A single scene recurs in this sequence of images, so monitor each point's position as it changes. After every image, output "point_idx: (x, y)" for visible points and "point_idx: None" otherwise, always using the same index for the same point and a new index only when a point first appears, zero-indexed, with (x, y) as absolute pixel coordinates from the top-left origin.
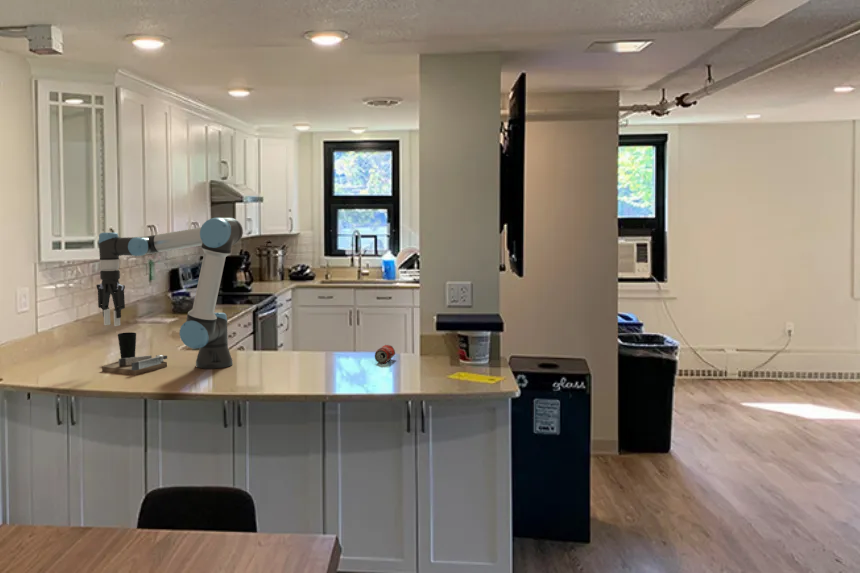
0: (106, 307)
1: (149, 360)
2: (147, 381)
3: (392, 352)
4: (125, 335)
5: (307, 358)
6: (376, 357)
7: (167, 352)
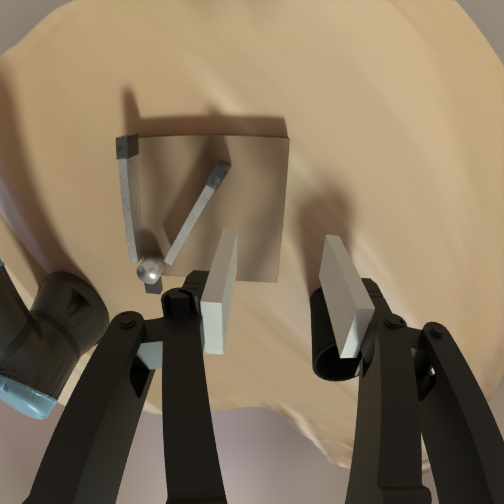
0: (368, 355)
1: (125, 210)
2: (56, 100)
3: None
4: (332, 342)
5: None
6: None
7: (292, 387)
